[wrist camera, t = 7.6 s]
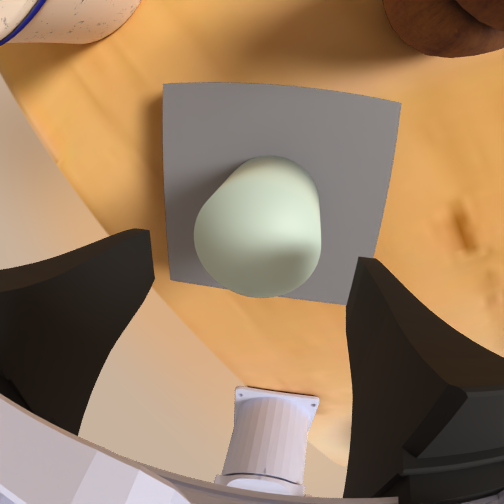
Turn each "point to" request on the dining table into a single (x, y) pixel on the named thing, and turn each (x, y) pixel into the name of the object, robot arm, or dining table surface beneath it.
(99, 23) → the teacup with lid
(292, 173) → the sage cylinder
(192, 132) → the gray square block
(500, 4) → the wooden figurine
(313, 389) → the dining table surface
